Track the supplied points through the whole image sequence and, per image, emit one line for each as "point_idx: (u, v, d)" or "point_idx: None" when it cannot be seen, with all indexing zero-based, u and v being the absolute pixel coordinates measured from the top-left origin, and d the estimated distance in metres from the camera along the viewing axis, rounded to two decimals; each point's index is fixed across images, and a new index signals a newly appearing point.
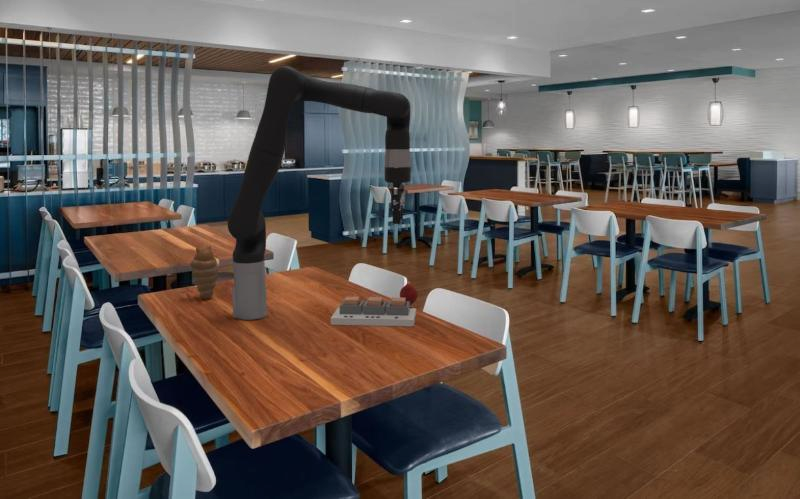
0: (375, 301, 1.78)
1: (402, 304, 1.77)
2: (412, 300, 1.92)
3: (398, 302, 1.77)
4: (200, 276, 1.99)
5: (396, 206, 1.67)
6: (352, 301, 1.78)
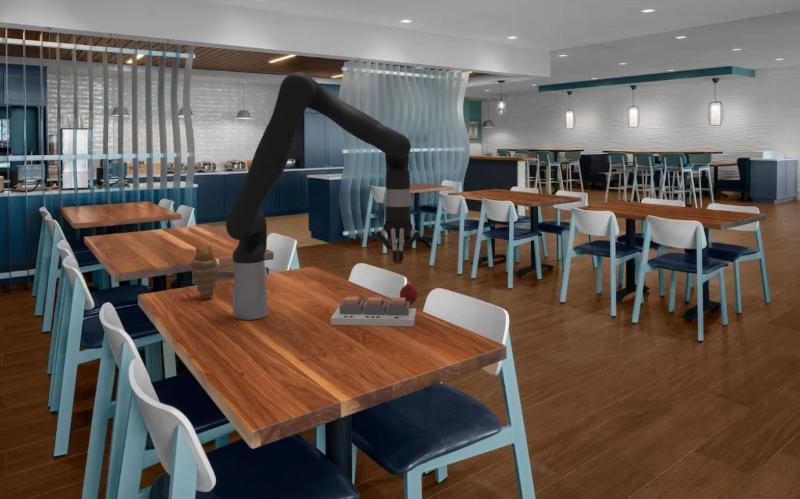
0: (375, 301, 1.78)
1: (402, 304, 1.77)
2: (412, 300, 1.92)
3: (398, 302, 1.77)
4: (200, 276, 1.99)
5: None
6: (352, 301, 1.78)
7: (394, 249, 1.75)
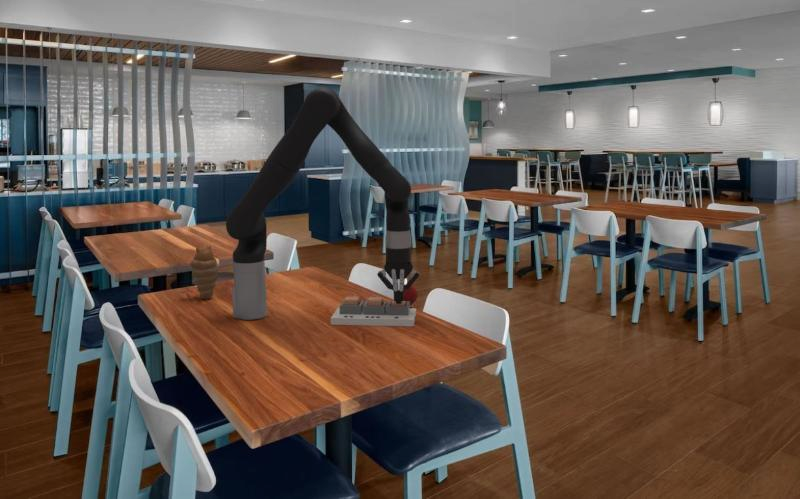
0: (375, 301, 1.78)
1: None
2: (412, 300, 1.92)
3: None
4: (200, 276, 1.99)
5: None
6: (352, 301, 1.78)
7: (395, 289, 1.77)
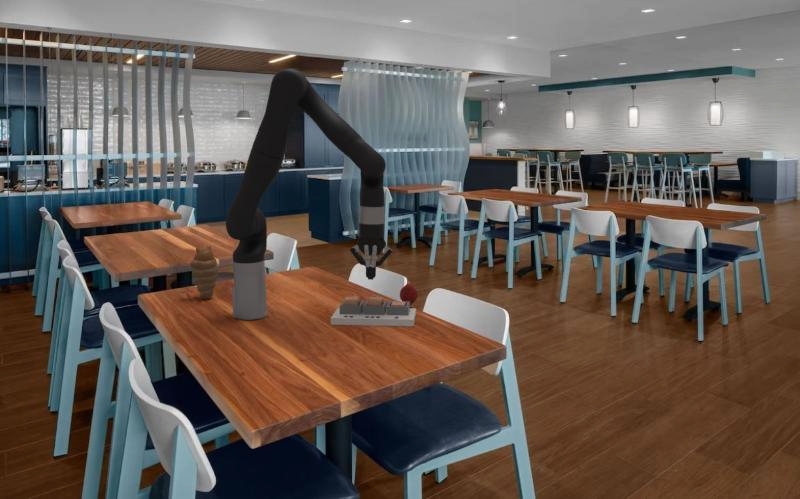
0: (375, 301, 1.78)
1: None
2: (412, 300, 1.92)
3: None
4: (200, 276, 1.99)
5: None
6: (352, 301, 1.78)
7: (367, 265, 1.77)
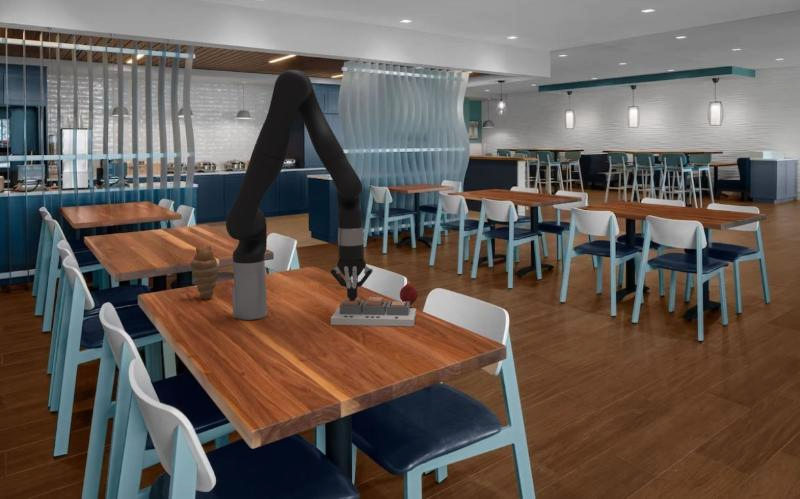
0: (375, 301, 1.78)
1: None
2: (412, 300, 1.92)
3: None
4: (200, 276, 1.99)
5: None
6: (352, 302, 1.79)
7: (348, 286, 1.78)
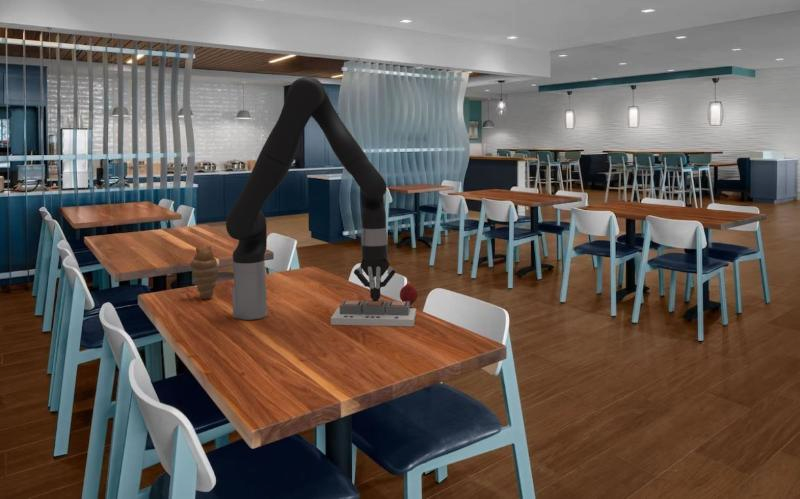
0: (375, 302, 1.78)
1: None
2: (412, 300, 1.92)
3: None
4: (200, 276, 1.99)
5: None
6: None
7: (372, 287, 1.78)
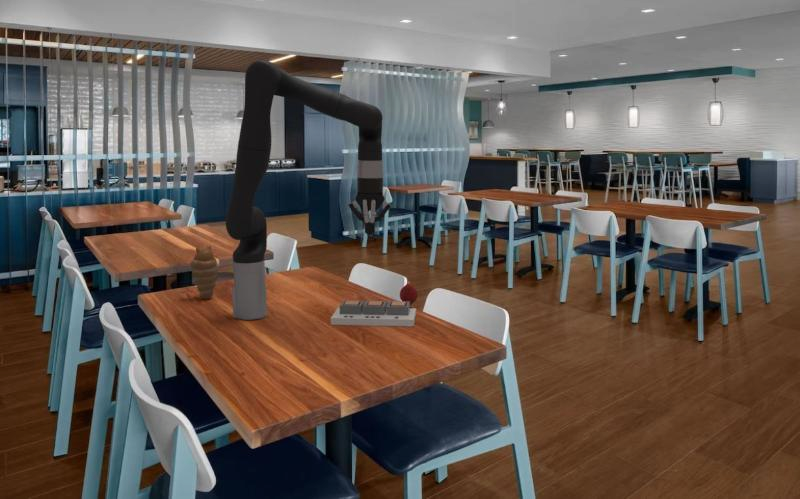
0: (375, 305, 1.78)
1: None
2: (412, 300, 1.92)
3: None
4: (200, 276, 1.99)
5: (380, 217, 1.77)
6: None
7: (366, 221, 1.76)
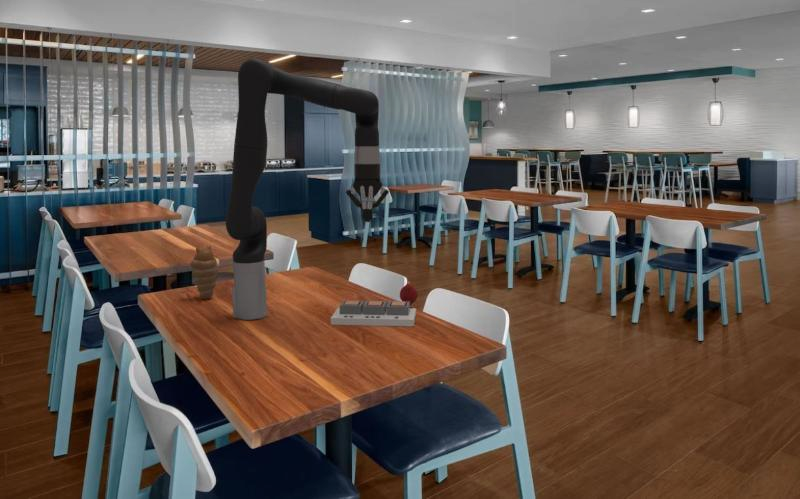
0: (375, 305, 1.78)
1: None
2: (412, 300, 1.92)
3: None
4: (200, 276, 1.99)
5: None
6: None
7: (364, 207, 1.76)
